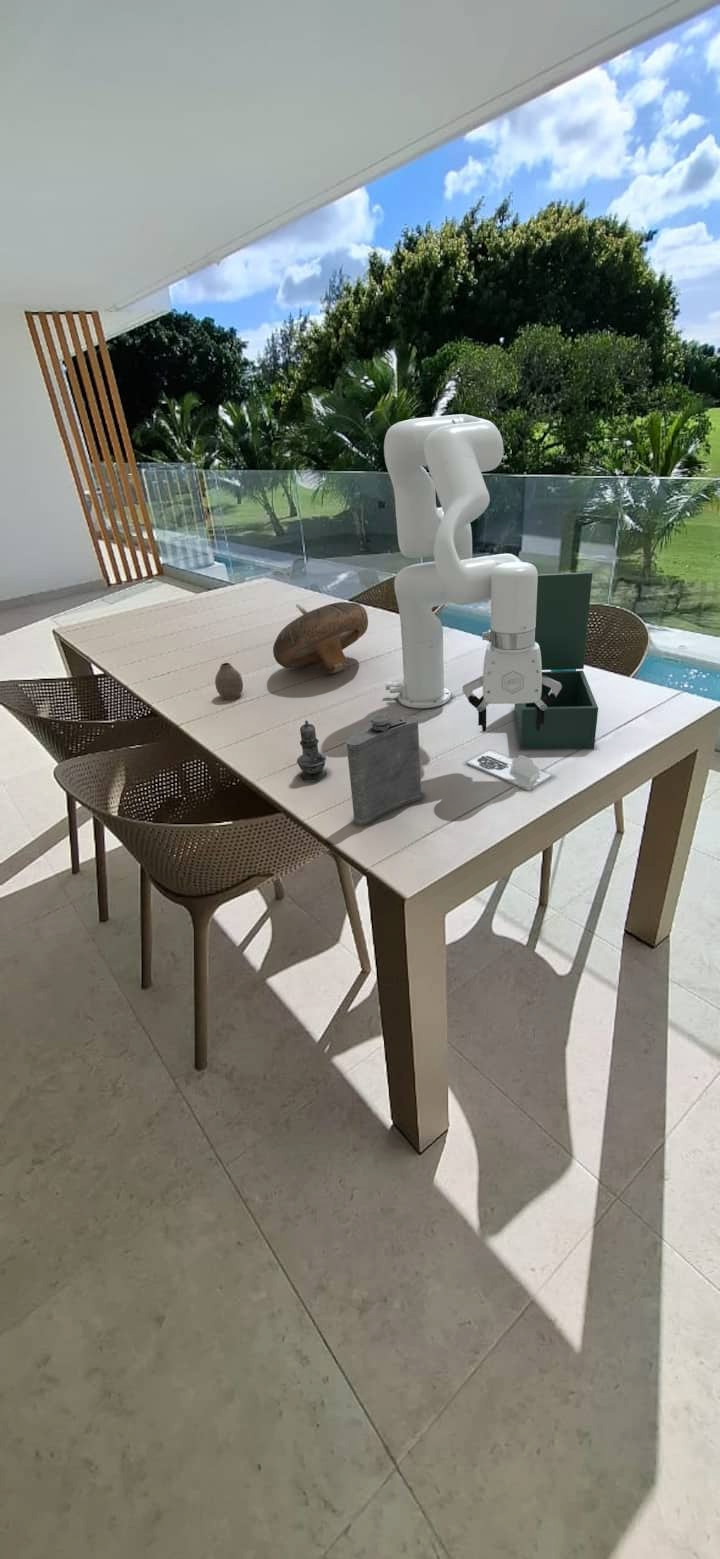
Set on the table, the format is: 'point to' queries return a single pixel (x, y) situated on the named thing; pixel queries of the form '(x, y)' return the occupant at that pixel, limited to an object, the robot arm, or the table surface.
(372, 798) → the flask
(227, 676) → the vase
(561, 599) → the box lid
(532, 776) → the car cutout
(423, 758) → the table surface
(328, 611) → the mushroom
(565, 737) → the green lidded box
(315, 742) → the salt shaker
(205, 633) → the table surface
